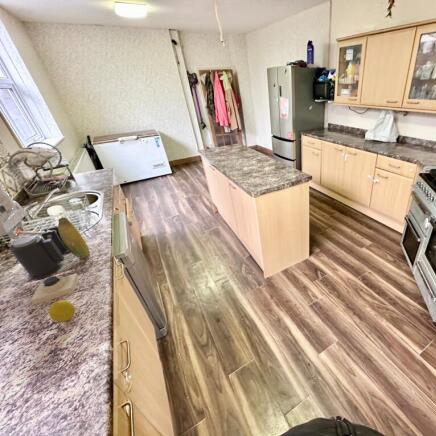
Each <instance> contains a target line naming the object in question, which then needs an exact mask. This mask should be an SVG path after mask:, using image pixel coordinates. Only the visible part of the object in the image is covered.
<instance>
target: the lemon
mask: <svg viewBox="0 0 436 436" xmlns="http://www.w3.org/2000/svg"><path fill="white" fill-rule="evenodd" d="M75 314H76V307H75V305H74V304H73V303H72V302H70V301H69V300H65V299H62V300H58V301H54V302H53V303H52V304H51V305H50V306H49V309H48V315H49V317H50V319H51V320H52V321H54V322H57V323H66V322H67V321H70V320H71V319H72V318H73V317H74V316H75Z"/></svg>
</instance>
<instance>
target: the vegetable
mask: <svg viewBox="0 0 436 436" xmlns="http://www.w3.org/2000/svg"><path fill="white" fill-rule="evenodd" d="M57 227H58V231H59V234H60V236H61V238H62V240H63V243H64V244H65V246H66V247H67V248H68V249H69V250H70V252H71V254H72V255H73V256H75V257H76V258H79V259H80V258H81V259H84V258H87V257H89V255H90V248H89V245H88V243H87V242H86V241H85V239H84V237H83V236H82V234H81V233H80V232H79V230H78V229H77V227H76V226H75V225H74V224H73V222H71V221H70V220H69V219H68V218H67V217H63V216H62V217H60V218H59V219H58V224H57Z"/></svg>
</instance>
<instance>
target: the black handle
mask: <svg viewBox="0 0 436 436" xmlns="http://www.w3.org/2000/svg"><path fill="white" fill-rule="evenodd" d="M47 230H53V231H49V232H47ZM55 230H56V232H55ZM43 232H44V233H41V235H40V236H41V237H42V239H43V240H47V239H52V240H53V242H54V243H55V245H56V246H57V248H58V249H59V251H60V252H61V254H62V255H63V256H64V255H66V254H70V253H71V252H70V250H69V249H68V248H67V247H66V246H65V244H64V243H63V240H62V238H61V236H60V234H59V231H58V225H57V226H51V227H48V228H44V229H43ZM71 254H72V253H71Z"/></svg>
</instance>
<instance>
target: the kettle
mask: <svg viewBox="0 0 436 436" xmlns="http://www.w3.org/2000/svg"><path fill="white" fill-rule="evenodd" d="M8 250H9V251H10V252H11V254H12V255H13V257H15V259H16V260H17V261H18V262H19V264H20V265H21V267H22V268H23V269H24V270H25V271H26V272H27V274H28V278H29V279H30V280H34V281H35V282H36V281H37V282H38V281H42V280H46V279H47V278H49V277H52V276H54V274H55V273H57V272H58V271H59V270H61V268H62V267H63V263H62V262H64V260H65V256H64V254H63V255H62V254H61V252H60V251H59V249H58V248H57V246H56V245H55V243H54V242H53V240H52V239H47V240H44V238H43V237H42V236H40V235H36V236H35V235H28V236H24V237H21V238H19V239H17V240H15V241H13V242H12V244H11V245H10V246H9V248H8Z"/></svg>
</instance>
